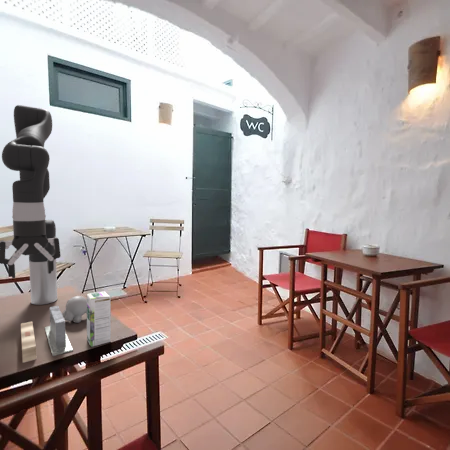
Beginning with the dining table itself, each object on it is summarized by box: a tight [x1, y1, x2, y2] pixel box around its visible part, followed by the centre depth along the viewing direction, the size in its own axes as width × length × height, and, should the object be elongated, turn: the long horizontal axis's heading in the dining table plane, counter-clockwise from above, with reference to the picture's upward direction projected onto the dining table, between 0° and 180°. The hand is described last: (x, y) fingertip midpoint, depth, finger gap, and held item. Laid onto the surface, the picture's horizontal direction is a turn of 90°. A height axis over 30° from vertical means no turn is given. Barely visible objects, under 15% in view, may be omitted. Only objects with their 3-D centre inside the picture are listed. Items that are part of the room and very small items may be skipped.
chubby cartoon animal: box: [61, 295, 87, 324], centre depth 103 cm, size 7×12×8 cm, turn 129°
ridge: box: [44, 305, 74, 357], centre depth 89 cm, size 20×5×8 cm, turn 37°
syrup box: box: [86, 291, 112, 348], centre depth 88 cm, size 6×6×14 cm
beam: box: [20, 321, 37, 363], centre depth 85 cm, size 18×3×4 cm, turn 36°
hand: (32, 275), depth 83 cm, fingers open, 8 cm apart
